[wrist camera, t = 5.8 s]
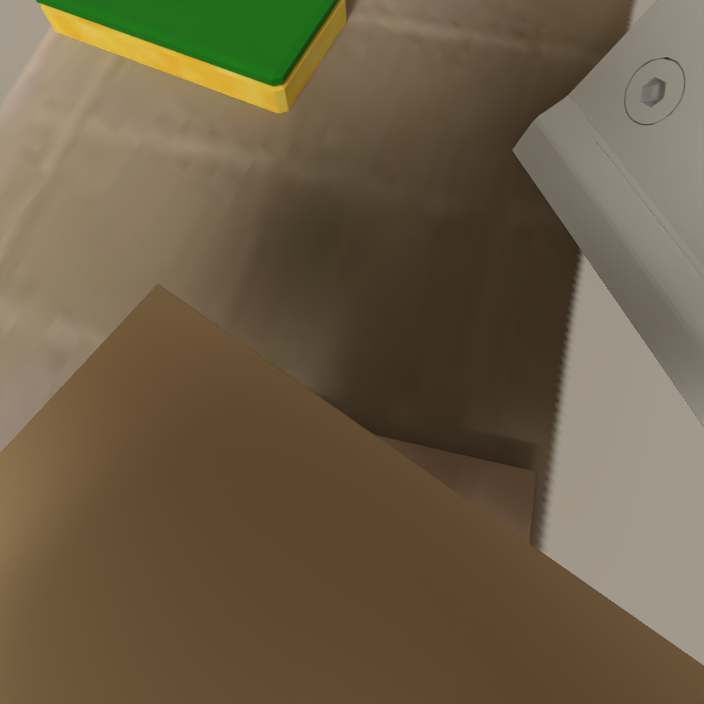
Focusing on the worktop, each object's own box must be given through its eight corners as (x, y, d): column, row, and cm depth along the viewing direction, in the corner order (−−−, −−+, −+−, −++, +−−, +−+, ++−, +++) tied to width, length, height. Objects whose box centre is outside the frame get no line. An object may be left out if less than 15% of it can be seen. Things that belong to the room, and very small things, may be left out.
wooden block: (369, 679, 14) (416, 1437, 2) (223, 558, 15) (-216, 684, 4) (451, 542, 15) (743, 612, 4) (310, 439, 16) (192, 246, 5)
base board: (479, 900, 14) (488, 929, 13) (86, 778, 15) (67, 796, 14) (527, 474, 17) (537, 471, 16) (211, 401, 18) (203, 395, 17)
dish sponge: (286, 123, 23) (277, 80, 21) (56, 37, 25) (25, -10, 23) (349, 25, 25) (348, -24, 23) (131, -46, 27) (109, -98, 25)
